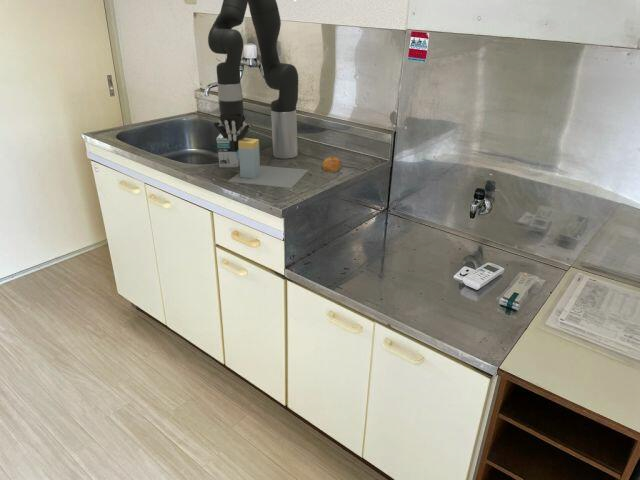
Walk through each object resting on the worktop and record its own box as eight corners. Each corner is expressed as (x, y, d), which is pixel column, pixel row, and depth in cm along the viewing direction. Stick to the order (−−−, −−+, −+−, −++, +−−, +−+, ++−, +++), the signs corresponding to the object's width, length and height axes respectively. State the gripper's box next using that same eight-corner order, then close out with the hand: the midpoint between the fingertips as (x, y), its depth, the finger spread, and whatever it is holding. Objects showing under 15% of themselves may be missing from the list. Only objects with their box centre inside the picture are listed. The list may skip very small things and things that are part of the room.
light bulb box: (237, 168, 170) (235, 138, 165) (218, 168, 171) (215, 138, 166) (242, 158, 180) (240, 130, 175) (224, 158, 180) (222, 130, 175)
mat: (250, 165, 172) (250, 164, 172) (308, 171, 167) (308, 169, 167) (227, 182, 157) (227, 181, 157) (291, 189, 151) (291, 187, 151)
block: (246, 172, 164) (244, 137, 159) (260, 174, 163) (258, 139, 157) (240, 177, 160) (238, 141, 154) (254, 178, 159) (252, 143, 153)
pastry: (341, 174, 164) (341, 164, 162) (321, 175, 164) (321, 164, 162) (341, 166, 172) (341, 155, 170) (322, 166, 172) (322, 155, 171)
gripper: (205, 98, 150) (211, 152, 158) (244, 101, 146) (248, 156, 154) (217, 94, 156) (222, 146, 164) (254, 96, 153) (258, 149, 161)
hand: (235, 151), depth 159 cm, fingers closed
